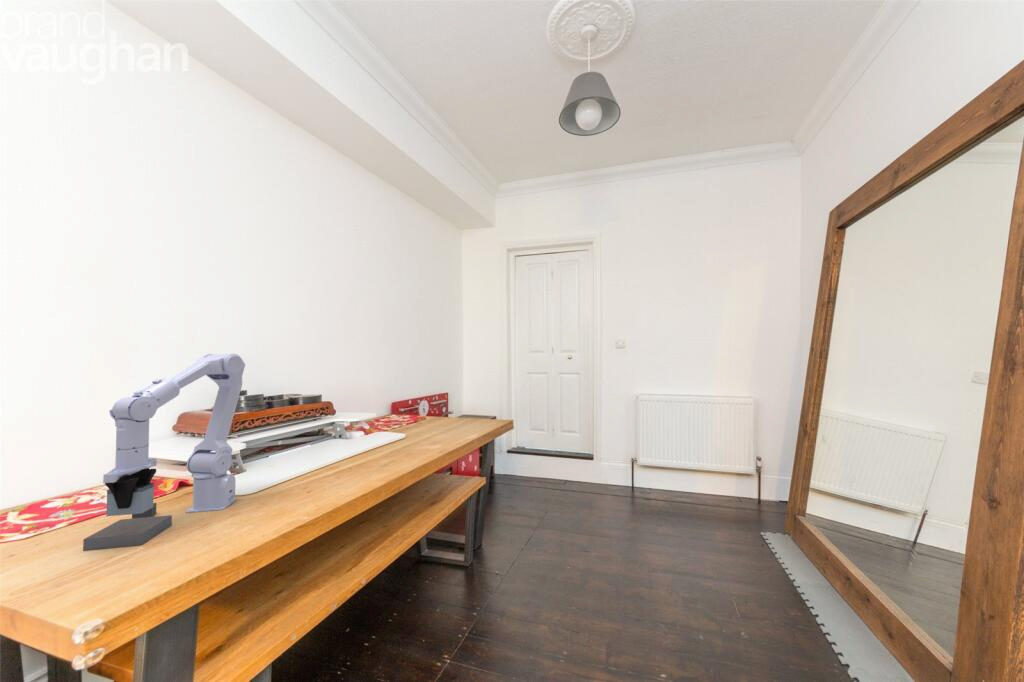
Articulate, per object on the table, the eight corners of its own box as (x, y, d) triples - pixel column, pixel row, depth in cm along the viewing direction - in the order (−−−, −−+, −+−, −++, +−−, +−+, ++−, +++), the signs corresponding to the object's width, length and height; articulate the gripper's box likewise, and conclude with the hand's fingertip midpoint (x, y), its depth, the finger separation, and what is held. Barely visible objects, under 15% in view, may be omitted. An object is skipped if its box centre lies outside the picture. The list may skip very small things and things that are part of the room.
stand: (171, 525, 101) (171, 515, 101) (141, 545, 90) (141, 533, 90) (120, 529, 99) (120, 519, 99) (83, 550, 88) (83, 539, 88)
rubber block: (156, 513, 109) (156, 502, 109) (151, 518, 106) (152, 507, 106) (136, 516, 107) (137, 505, 107) (131, 521, 104) (132, 510, 104)
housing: (119, 509, 96) (120, 484, 96) (153, 507, 97) (153, 482, 98) (106, 516, 92) (107, 490, 92) (141, 513, 93) (142, 487, 94)
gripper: (130, 453, 89) (128, 514, 88) (170, 440, 103) (169, 493, 103) (92, 455, 88) (90, 517, 87) (138, 441, 102) (137, 495, 101)
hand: (131, 504), depth 95 cm, fingers closed on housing, 4 cm apart
